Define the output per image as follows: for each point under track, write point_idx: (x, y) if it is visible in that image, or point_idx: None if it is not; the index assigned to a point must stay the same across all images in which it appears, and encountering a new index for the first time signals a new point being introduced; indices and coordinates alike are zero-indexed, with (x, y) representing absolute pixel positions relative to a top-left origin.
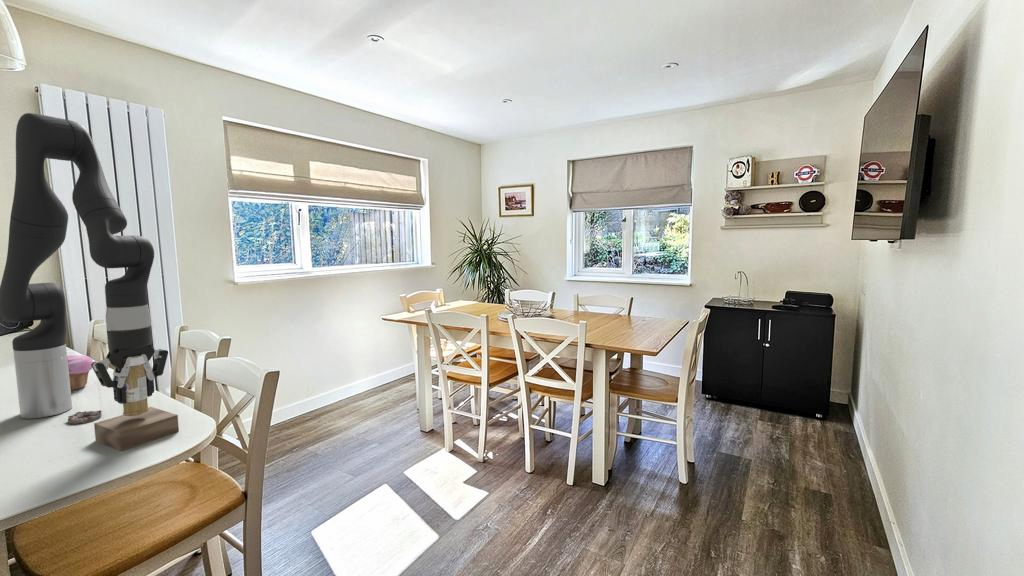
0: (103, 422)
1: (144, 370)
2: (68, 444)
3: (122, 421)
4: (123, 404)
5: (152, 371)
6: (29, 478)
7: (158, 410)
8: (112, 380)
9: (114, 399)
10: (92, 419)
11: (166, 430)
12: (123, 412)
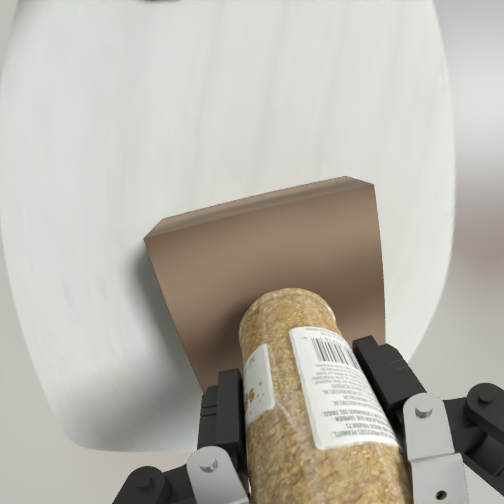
0: (174, 257)
1: None
2: (96, 189)
3: (235, 304)
4: (243, 365)
5: (464, 434)
6: (53, 361)
7: (373, 268)
8: (193, 487)
9: (203, 396)
10: None
11: None
12: (240, 334)
